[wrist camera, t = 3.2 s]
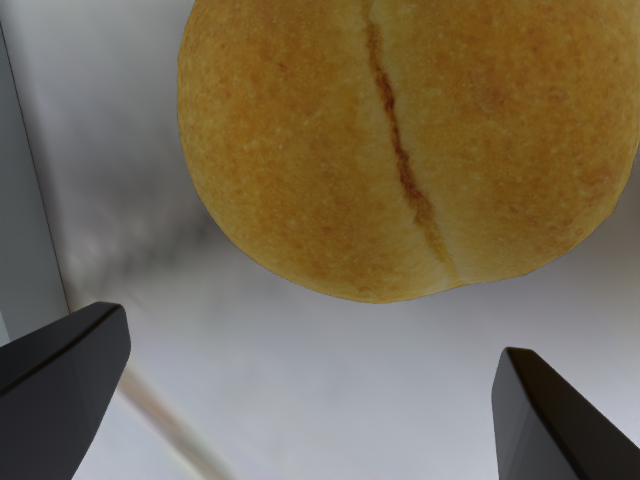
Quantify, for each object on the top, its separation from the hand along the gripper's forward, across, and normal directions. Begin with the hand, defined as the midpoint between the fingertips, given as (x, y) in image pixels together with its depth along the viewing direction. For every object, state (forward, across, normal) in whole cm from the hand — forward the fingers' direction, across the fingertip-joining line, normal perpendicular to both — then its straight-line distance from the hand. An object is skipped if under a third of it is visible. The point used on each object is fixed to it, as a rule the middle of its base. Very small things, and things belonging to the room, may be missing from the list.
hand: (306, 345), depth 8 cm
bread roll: (+6, 0, 0) cm, 6 cm away
